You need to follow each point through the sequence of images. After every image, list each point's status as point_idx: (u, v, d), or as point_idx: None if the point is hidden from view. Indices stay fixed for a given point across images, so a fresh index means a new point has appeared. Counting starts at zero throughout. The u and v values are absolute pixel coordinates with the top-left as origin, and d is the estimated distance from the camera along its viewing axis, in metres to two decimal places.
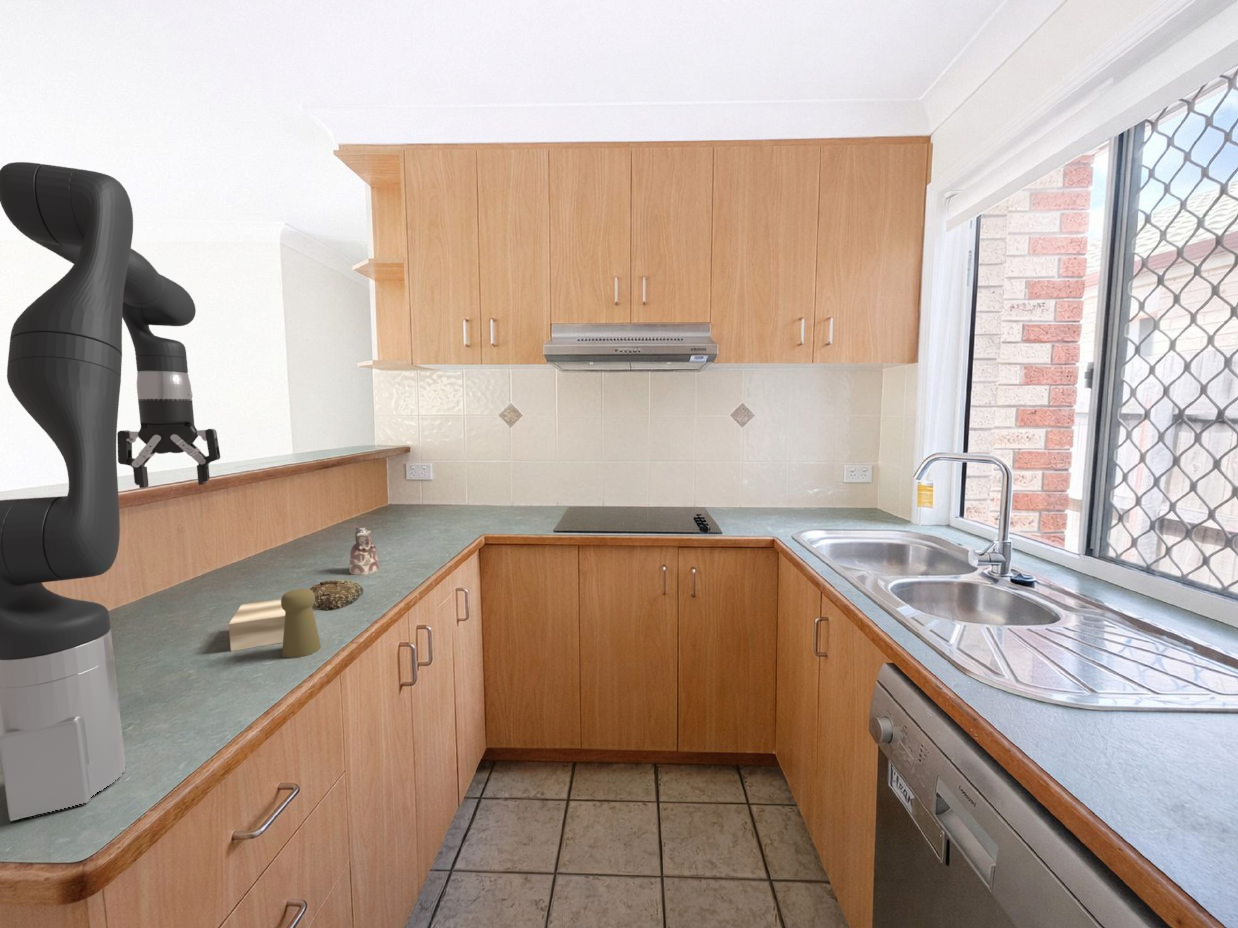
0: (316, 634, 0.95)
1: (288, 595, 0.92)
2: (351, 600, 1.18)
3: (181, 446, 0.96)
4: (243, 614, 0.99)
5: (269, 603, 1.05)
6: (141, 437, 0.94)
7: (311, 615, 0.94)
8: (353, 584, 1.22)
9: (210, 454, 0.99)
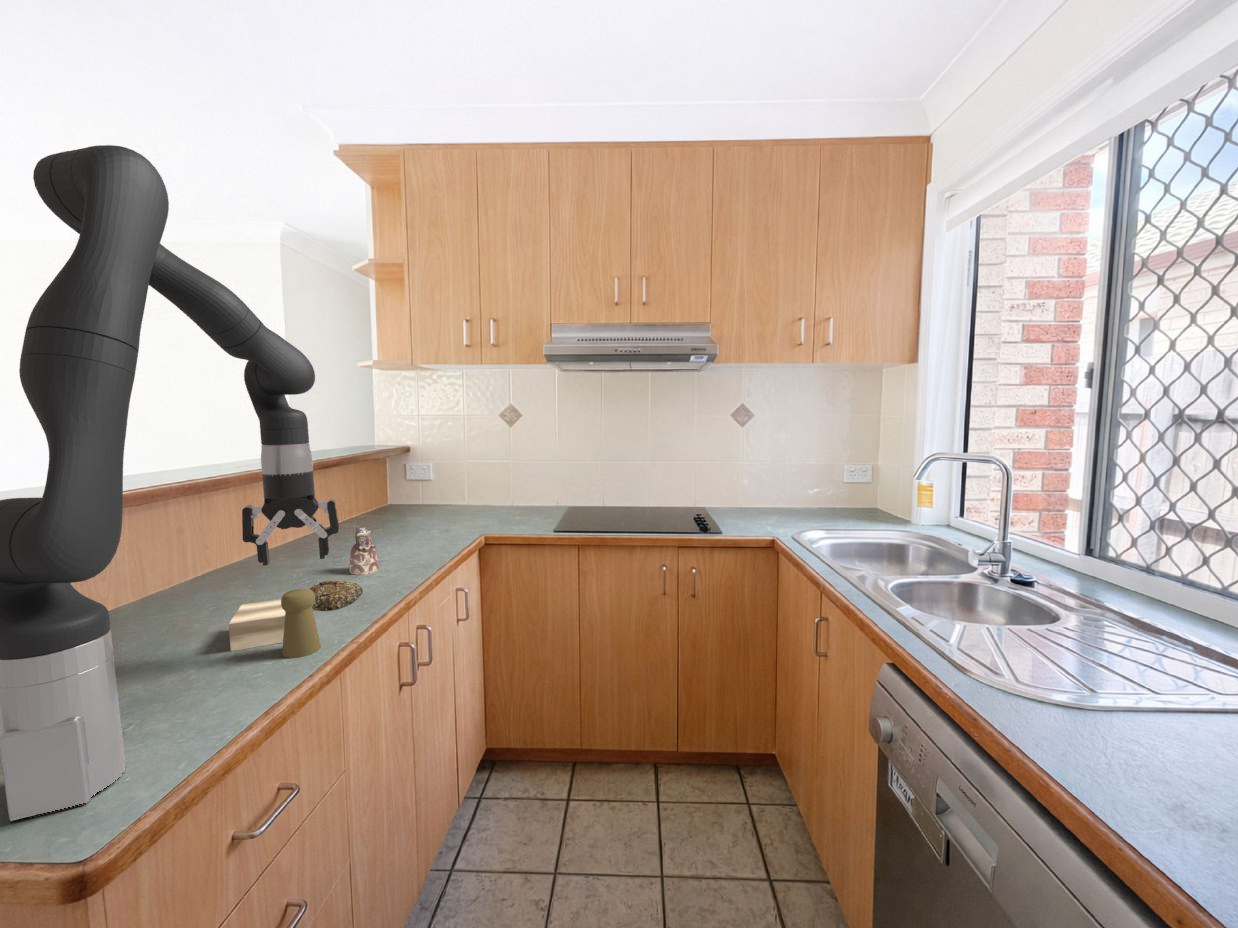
0: (316, 634, 0.95)
1: (288, 595, 0.92)
2: (350, 600, 1.18)
3: (304, 521, 0.92)
4: (243, 614, 0.99)
5: (269, 603, 1.05)
6: (265, 513, 0.90)
7: (311, 615, 0.94)
8: (352, 584, 1.22)
9: (332, 527, 0.94)
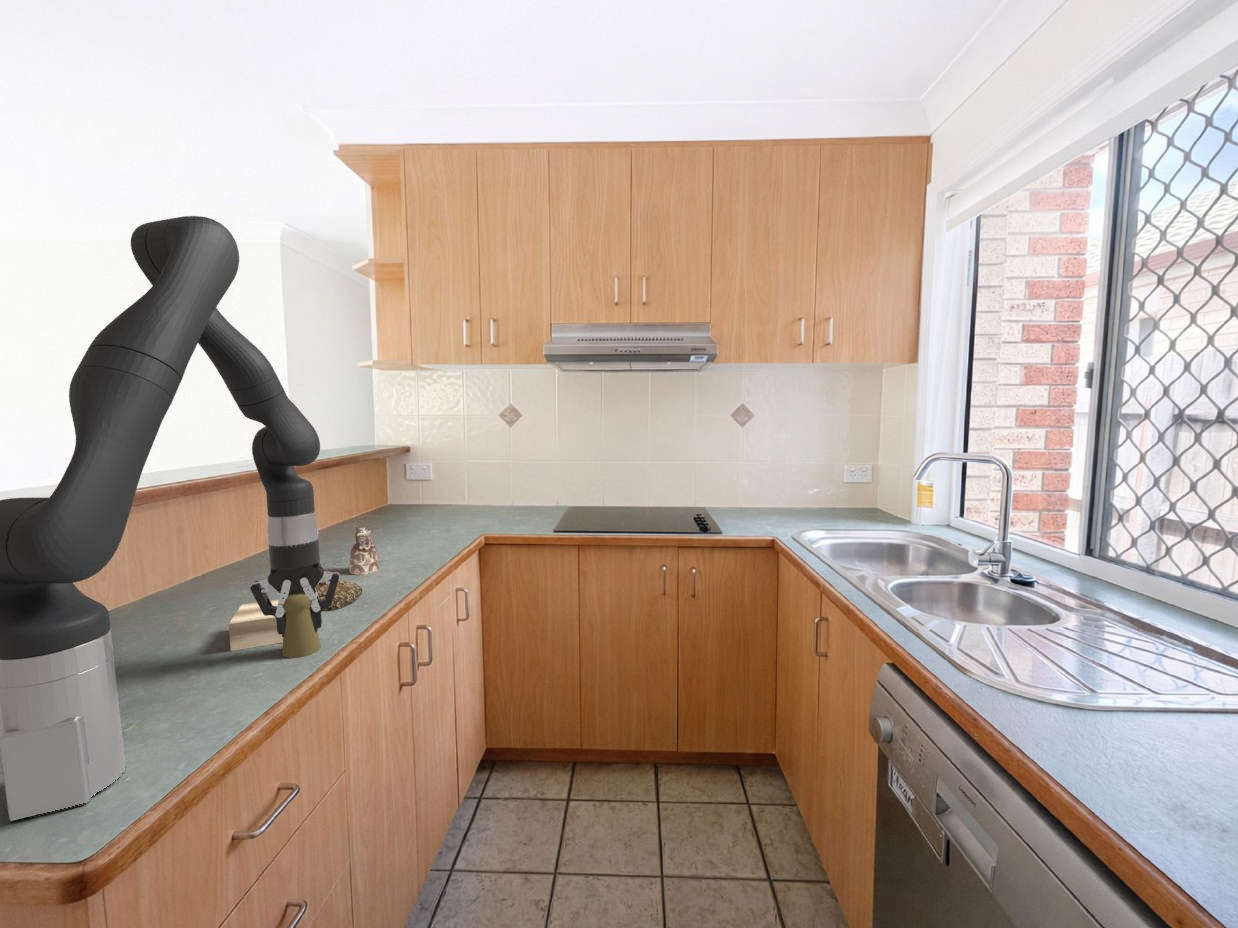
0: (316, 634, 0.95)
1: (288, 595, 0.92)
2: (350, 601, 1.18)
3: (305, 590, 0.93)
4: (243, 614, 0.99)
5: None
6: (271, 582, 0.91)
7: (311, 615, 0.94)
8: (352, 585, 1.22)
9: (326, 599, 0.95)
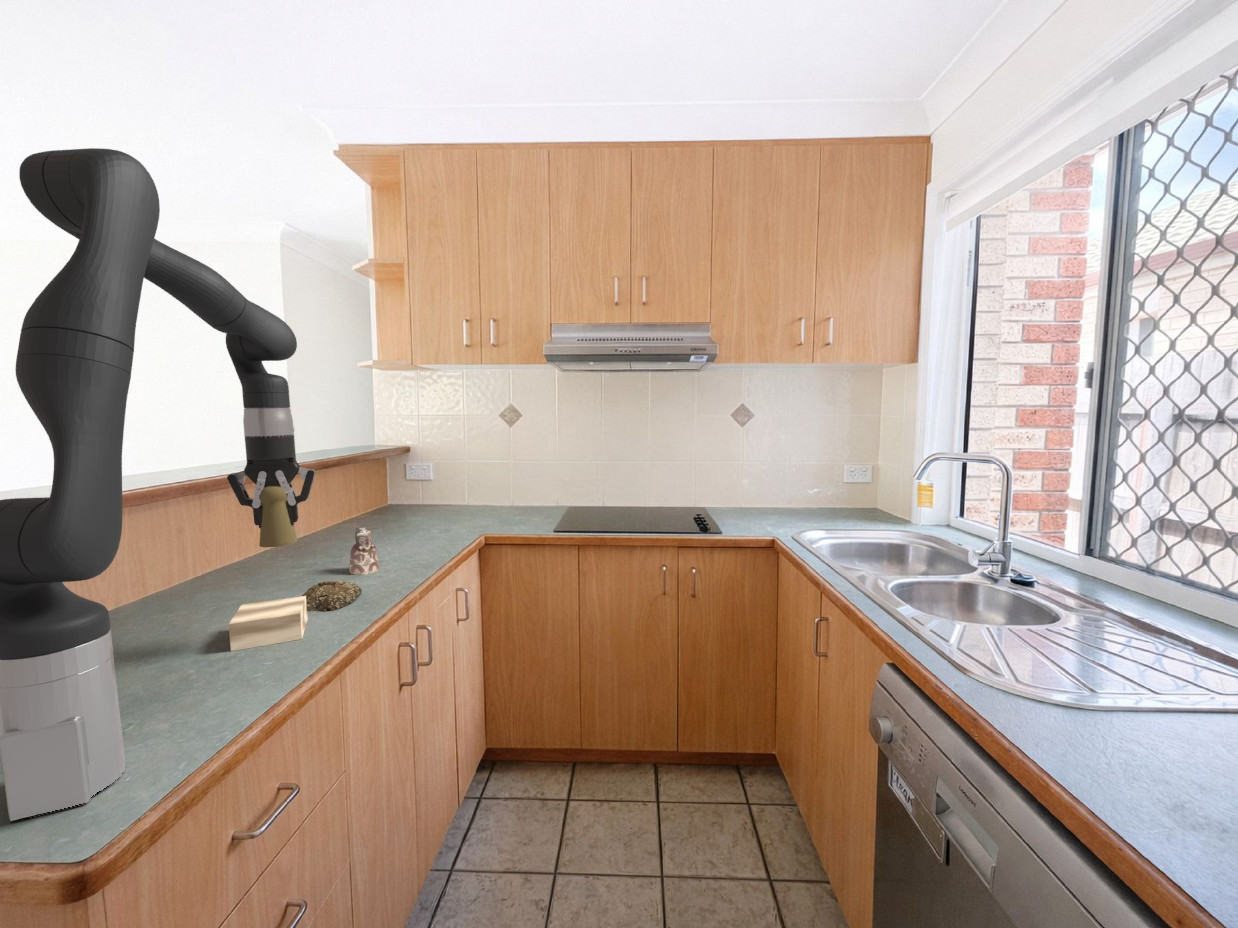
0: (292, 528, 0.98)
1: (264, 487, 0.95)
2: (349, 601, 1.17)
3: (280, 483, 0.96)
4: (243, 614, 0.99)
5: (269, 603, 1.05)
6: (247, 473, 0.94)
7: None
8: (351, 585, 1.22)
9: (301, 494, 0.98)
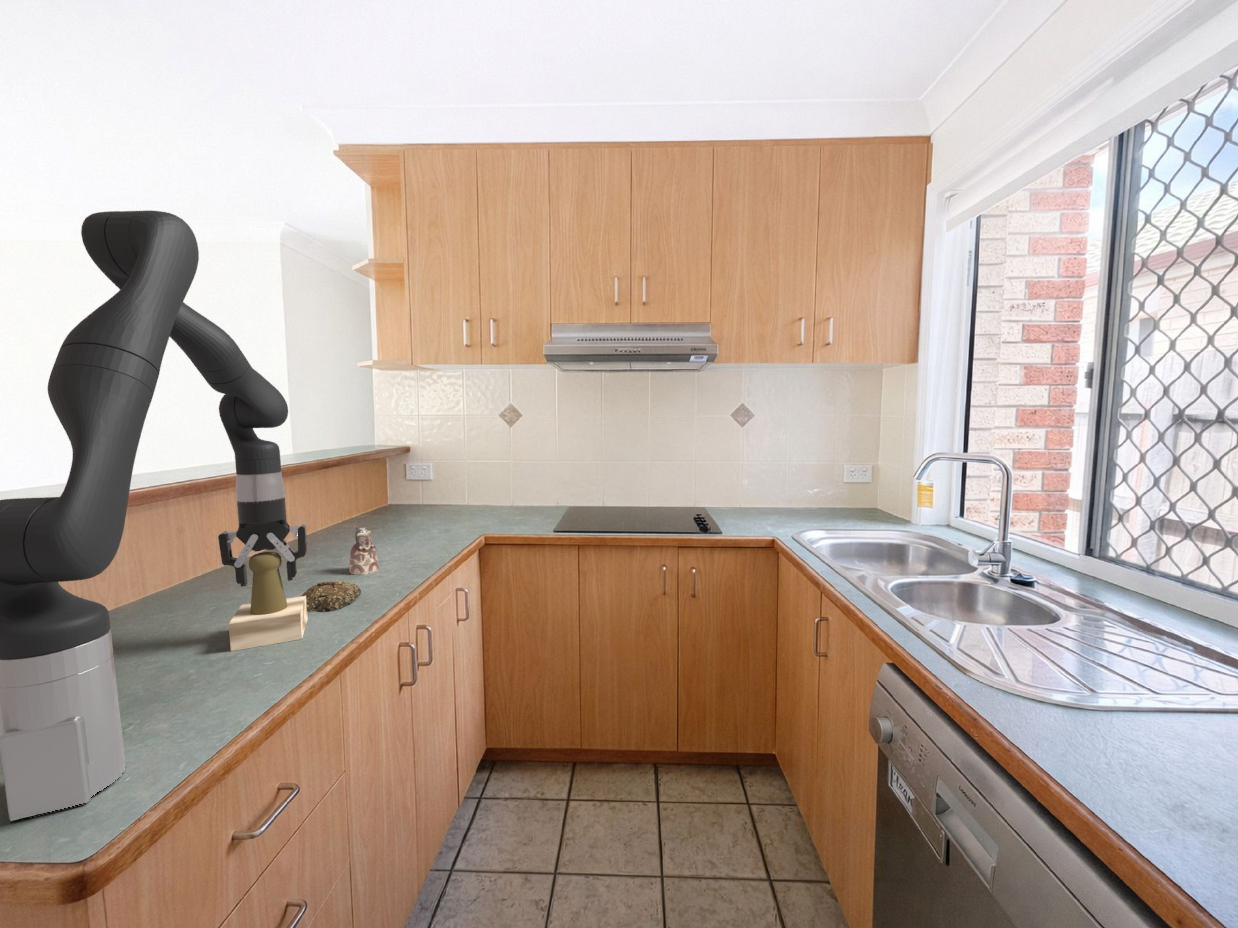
0: (282, 594, 1.02)
1: (256, 556, 0.99)
2: (348, 601, 1.17)
3: (274, 544, 1.00)
4: (243, 614, 0.99)
5: None
6: (239, 537, 0.98)
7: (277, 576, 1.01)
8: (351, 585, 1.21)
9: (299, 551, 1.02)
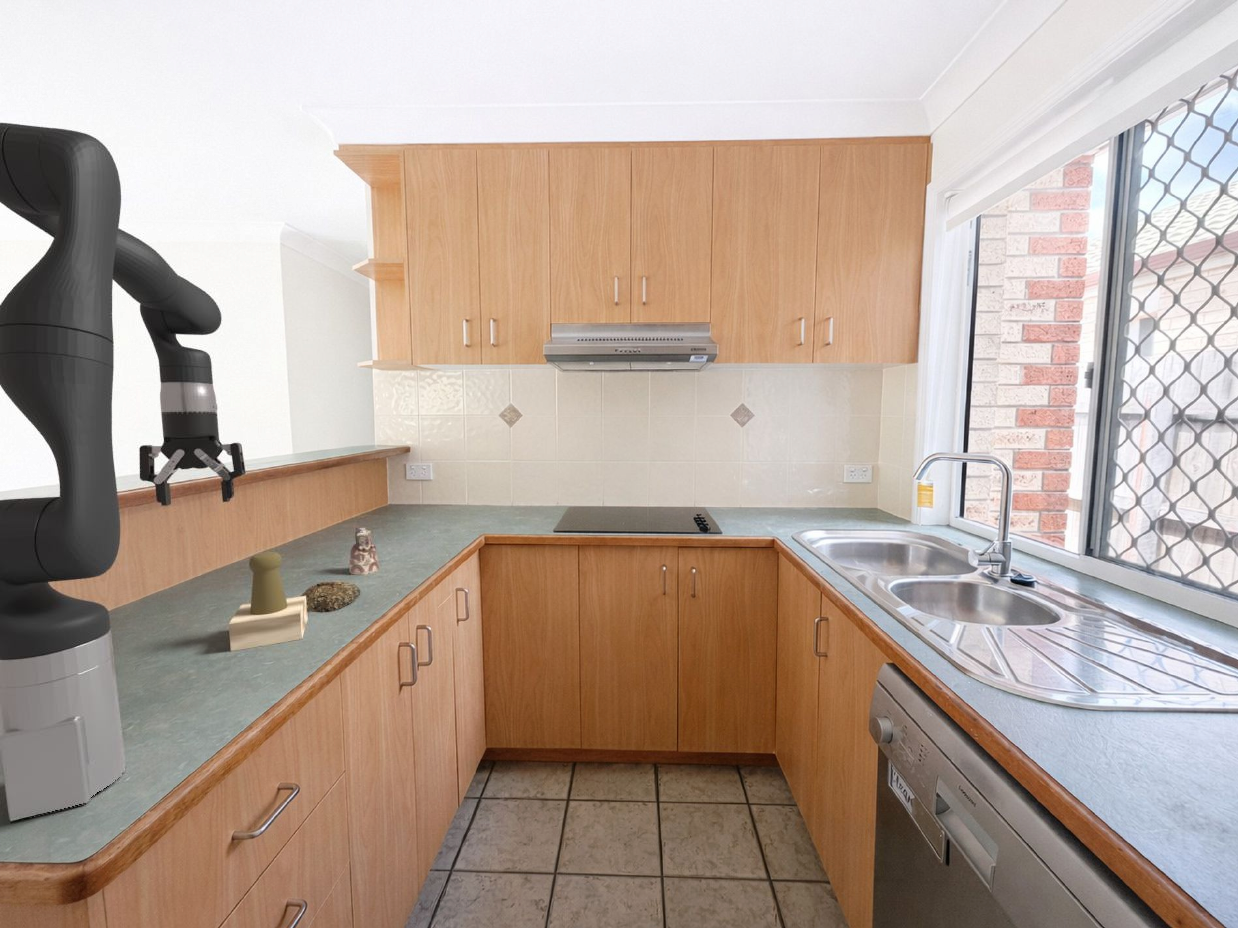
0: (282, 594, 1.02)
1: (256, 556, 0.99)
2: (348, 602, 1.17)
3: (205, 461, 0.91)
4: (243, 614, 0.99)
5: None
6: (164, 452, 0.89)
7: (277, 576, 1.01)
8: (350, 585, 1.21)
9: (235, 469, 0.93)
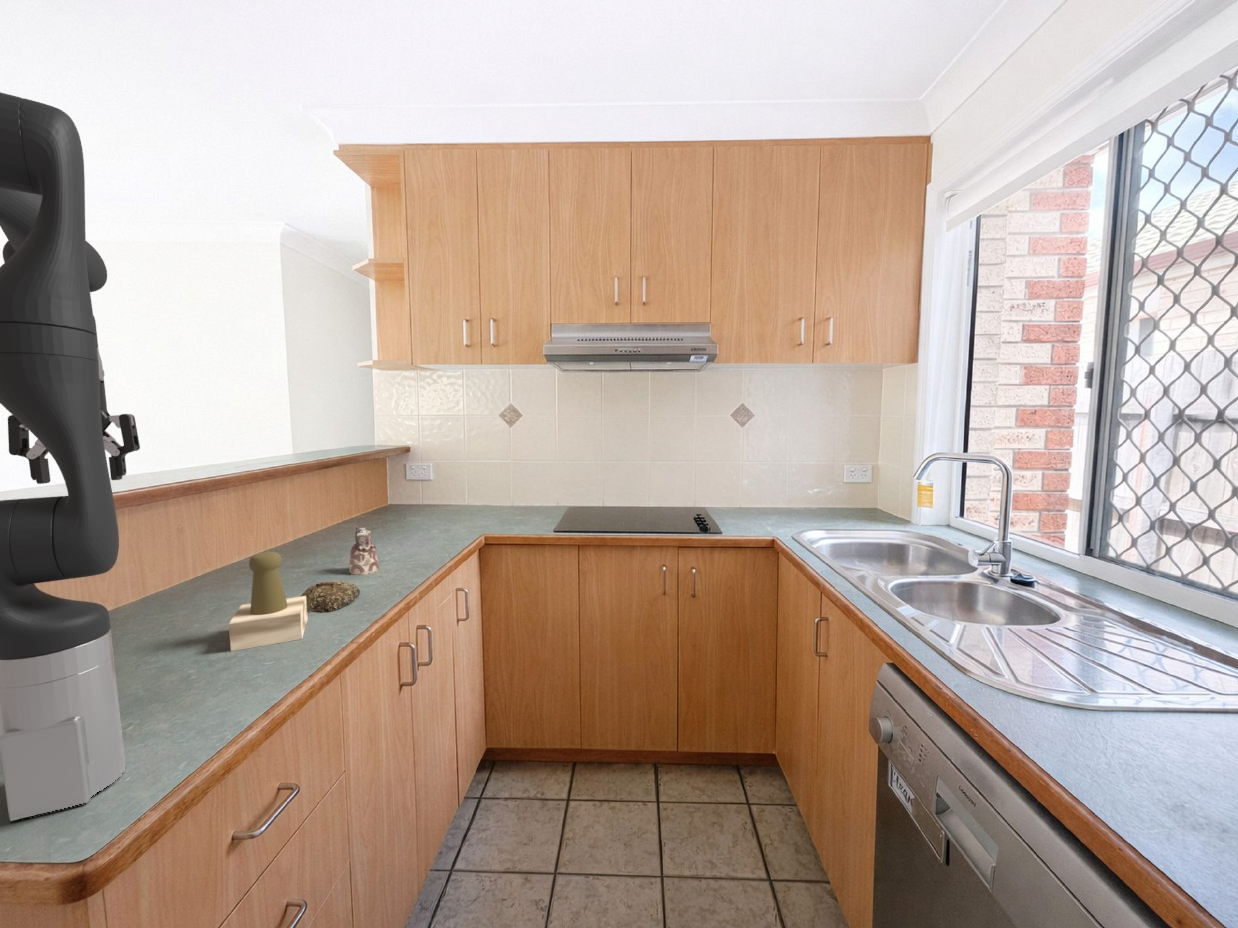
0: (282, 594, 1.02)
1: (256, 556, 0.99)
2: (347, 602, 1.17)
3: None
4: (243, 614, 0.99)
5: None
6: None
7: (277, 576, 1.01)
8: (349, 585, 1.21)
9: (125, 444, 0.83)
